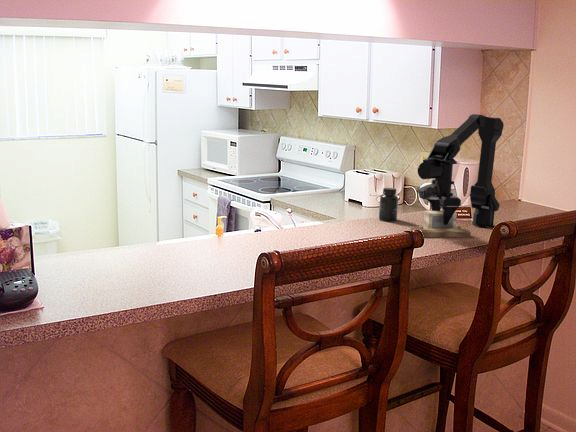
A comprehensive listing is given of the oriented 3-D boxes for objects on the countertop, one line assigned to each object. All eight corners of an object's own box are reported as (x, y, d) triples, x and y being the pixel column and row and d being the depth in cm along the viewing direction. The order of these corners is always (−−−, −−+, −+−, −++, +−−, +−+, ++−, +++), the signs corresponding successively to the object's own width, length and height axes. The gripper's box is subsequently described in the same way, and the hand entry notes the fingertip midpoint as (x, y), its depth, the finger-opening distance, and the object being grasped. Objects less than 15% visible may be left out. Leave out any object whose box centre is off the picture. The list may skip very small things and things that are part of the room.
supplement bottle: (398, 221, 253) (400, 190, 251) (379, 221, 253) (381, 189, 251) (395, 218, 260) (397, 187, 258) (377, 217, 260) (379, 186, 258)
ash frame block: (450, 227, 239) (451, 210, 238) (455, 230, 234) (457, 213, 233) (423, 227, 237) (424, 210, 236) (428, 230, 233) (429, 213, 231)
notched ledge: (458, 230, 242) (458, 223, 241) (470, 236, 232) (470, 229, 232) (410, 230, 239) (410, 223, 238) (420, 237, 229) (420, 230, 229)
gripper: (411, 173, 240) (408, 216, 243) (431, 181, 222) (428, 228, 225) (441, 173, 242) (438, 216, 245) (463, 181, 224) (459, 227, 227)
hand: (440, 222), depth 235 cm, fingers open, 9 cm apart
